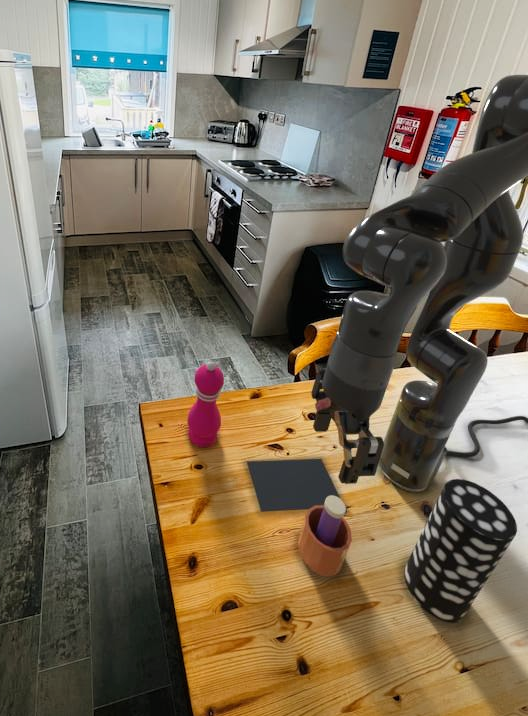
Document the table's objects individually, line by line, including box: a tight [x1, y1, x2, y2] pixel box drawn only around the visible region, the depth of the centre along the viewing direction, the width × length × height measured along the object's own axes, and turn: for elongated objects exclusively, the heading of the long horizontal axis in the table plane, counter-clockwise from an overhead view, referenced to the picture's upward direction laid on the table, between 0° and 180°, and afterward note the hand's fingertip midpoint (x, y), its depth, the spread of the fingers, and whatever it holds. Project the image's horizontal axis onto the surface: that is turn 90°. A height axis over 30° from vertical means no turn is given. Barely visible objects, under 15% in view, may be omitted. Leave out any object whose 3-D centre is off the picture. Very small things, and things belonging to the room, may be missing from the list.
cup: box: [297, 505, 353, 577], centre depth 65 cm, size 7×7×7 cm
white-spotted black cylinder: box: [403, 478, 518, 624], centre depth 58 cm, size 8×8×20 cm
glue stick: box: [315, 495, 347, 548], centre depth 64 cm, size 3×3×12 cm
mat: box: [246, 458, 341, 512], centre depth 77 cm, size 16×10×1 cm, turn 95°
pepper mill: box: [186, 361, 225, 448], centre depth 83 cm, size 7×7×20 cm
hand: (332, 453), depth 59 cm, fingers open, 8 cm apart
